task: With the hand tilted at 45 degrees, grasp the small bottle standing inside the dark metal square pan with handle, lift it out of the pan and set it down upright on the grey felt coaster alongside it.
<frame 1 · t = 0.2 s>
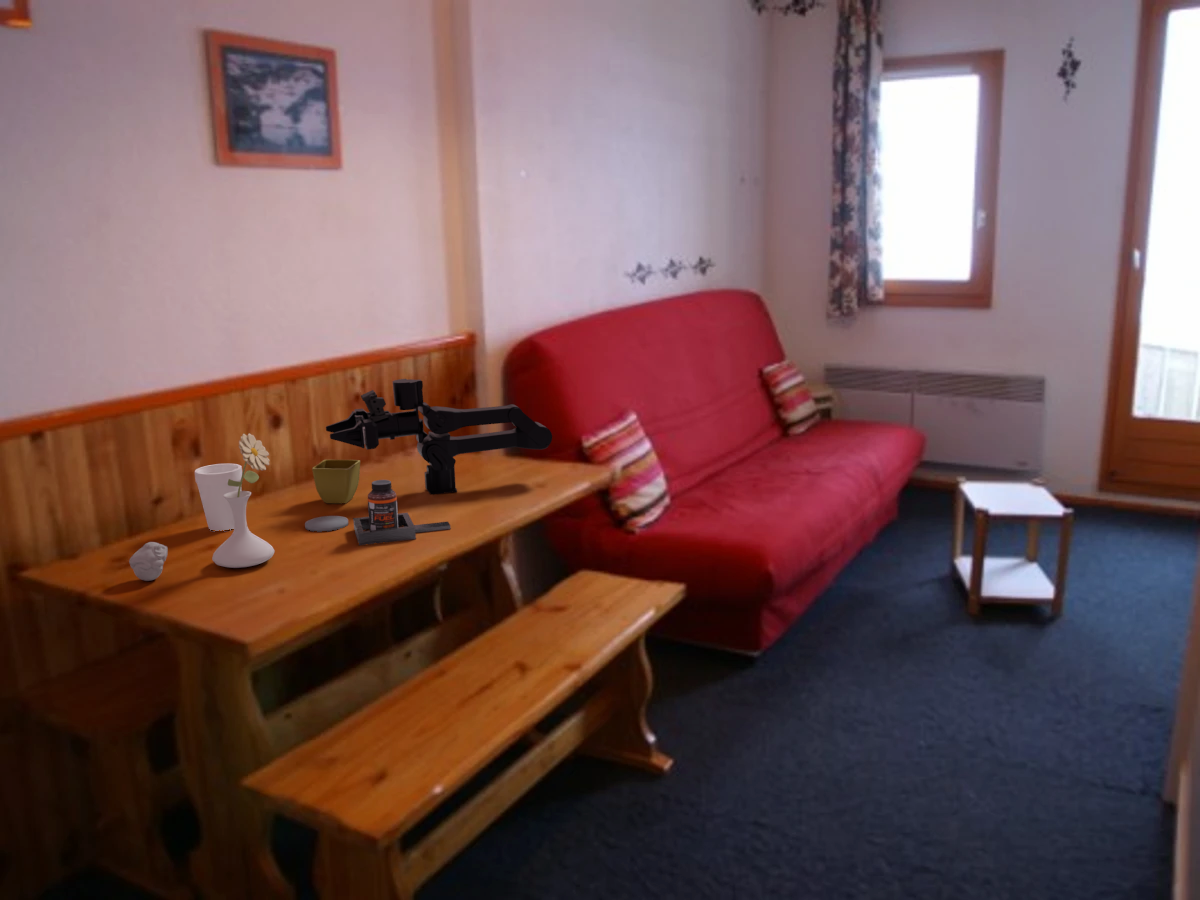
hand: (328, 432, 236), 17 cm above the table, tool horizontal, fingers open, 9 cm apart
flower in vase: (248, 562, 200), on the table
coaster: (326, 525, 223), on the table
square pan with handle: (384, 534, 216), on the table
lumpy white ball: (151, 580, 192), on the table
supplement bottle: (384, 535, 216), resting in square pan with handle
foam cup: (224, 528, 223), on the table
flower pot: (339, 502, 241), on the table
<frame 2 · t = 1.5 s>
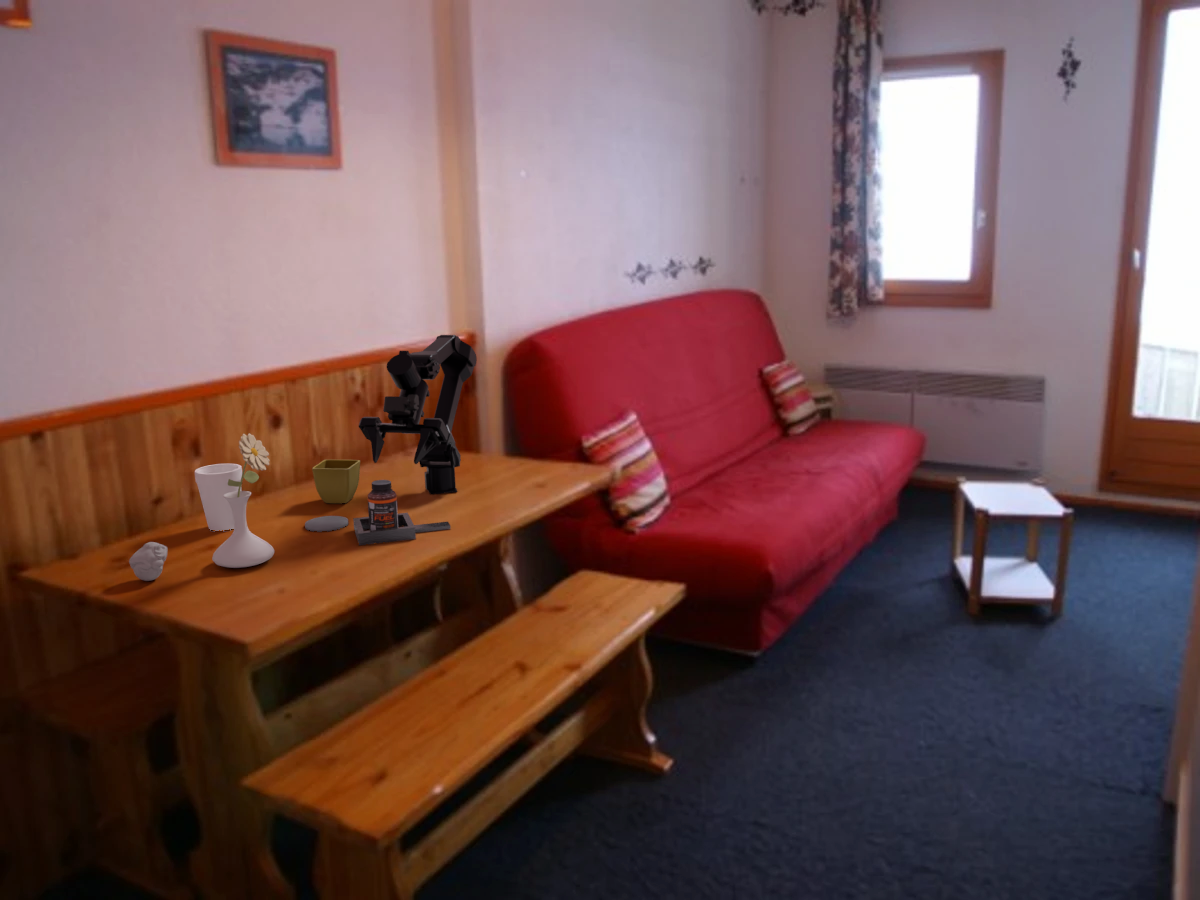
hand: (394, 462, 220), 13 cm above the table, tool tilted 45°, fingers open, 9 cm apart
nothing on the table moved.
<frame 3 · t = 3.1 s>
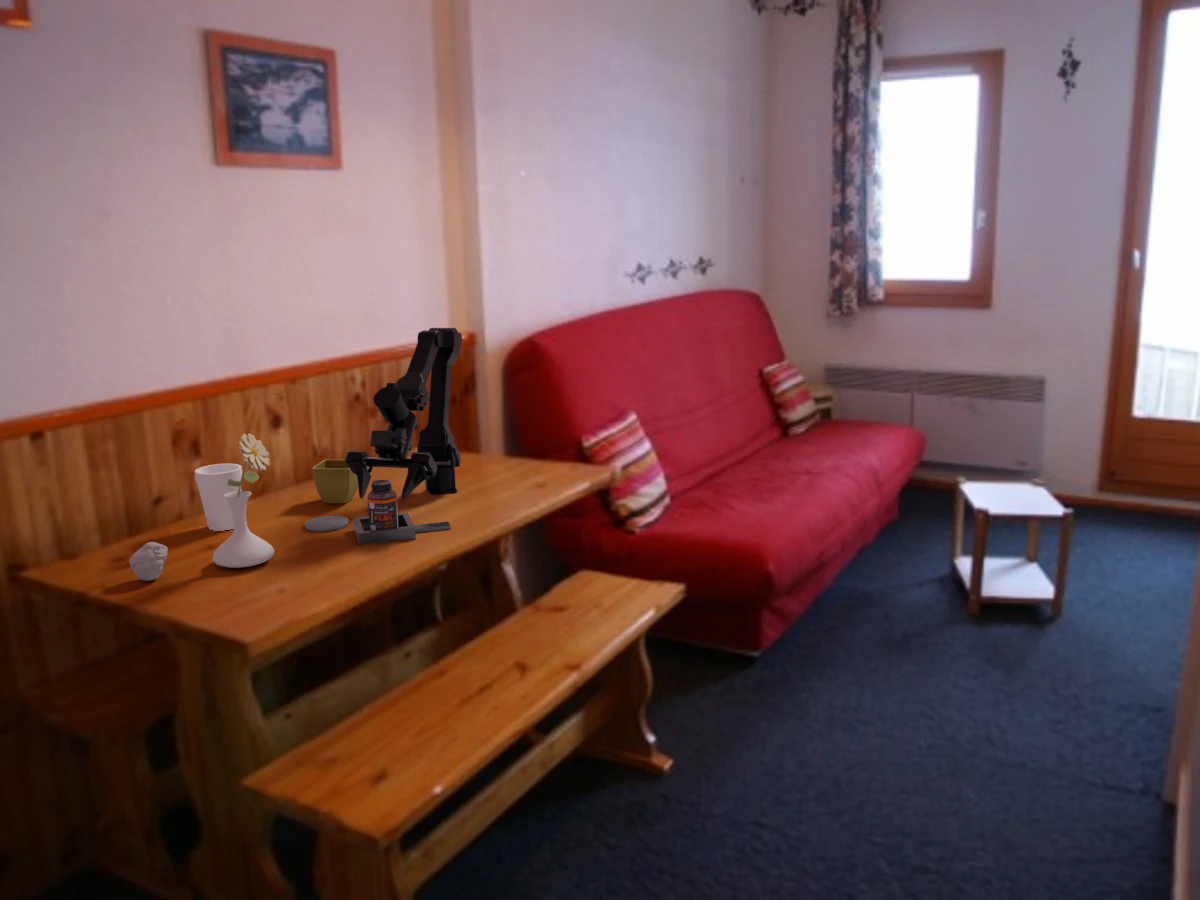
hand: (381, 498, 214), 8 cm above the table, tool tilted 45°, fingers open, 9 cm apart
nothing on the table moved.
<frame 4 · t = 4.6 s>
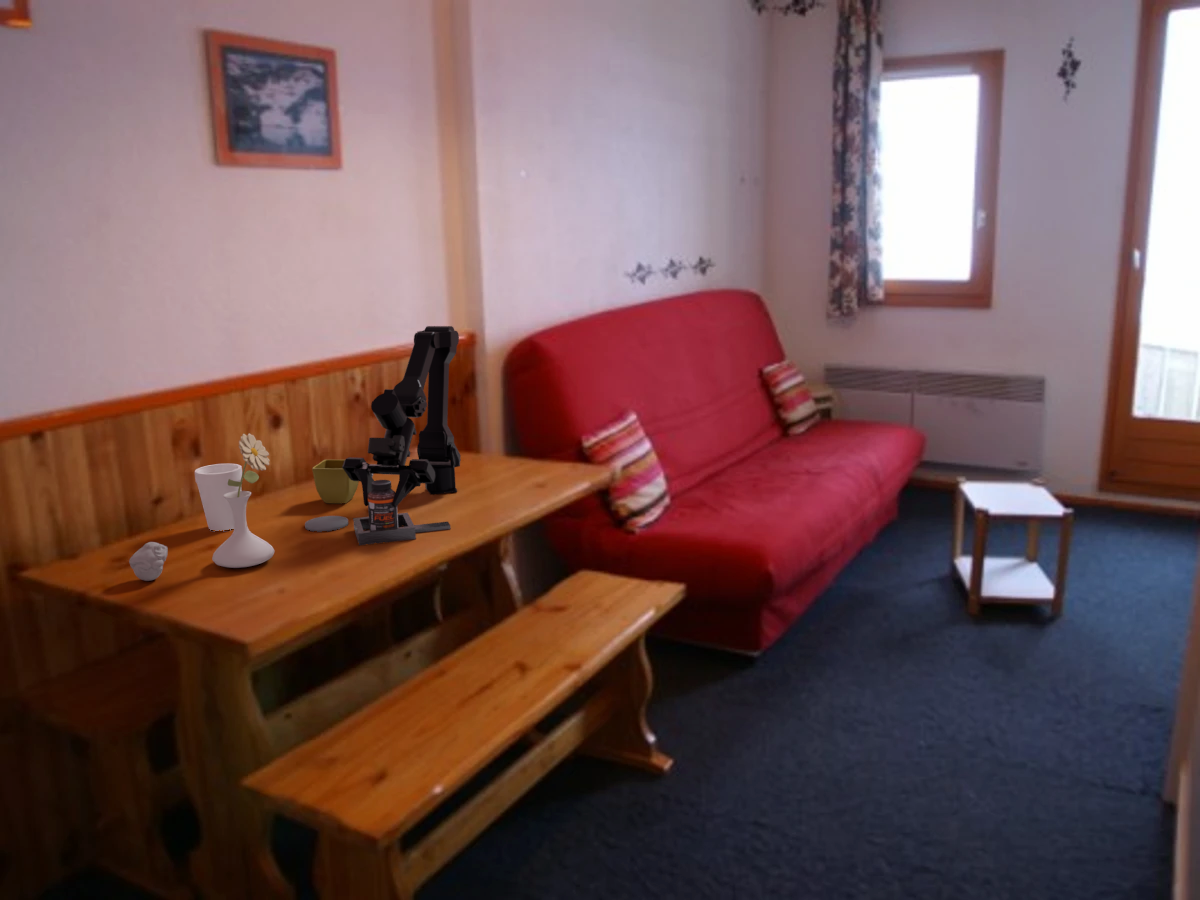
hand: (379, 505, 213), 7 cm above the table, tool tilted 45°, fingers closed on supplement bottle, 6 cm apart
supplement bottle: (384, 535, 216), resting in square pan with handle, touching gripper
everything else where it was.
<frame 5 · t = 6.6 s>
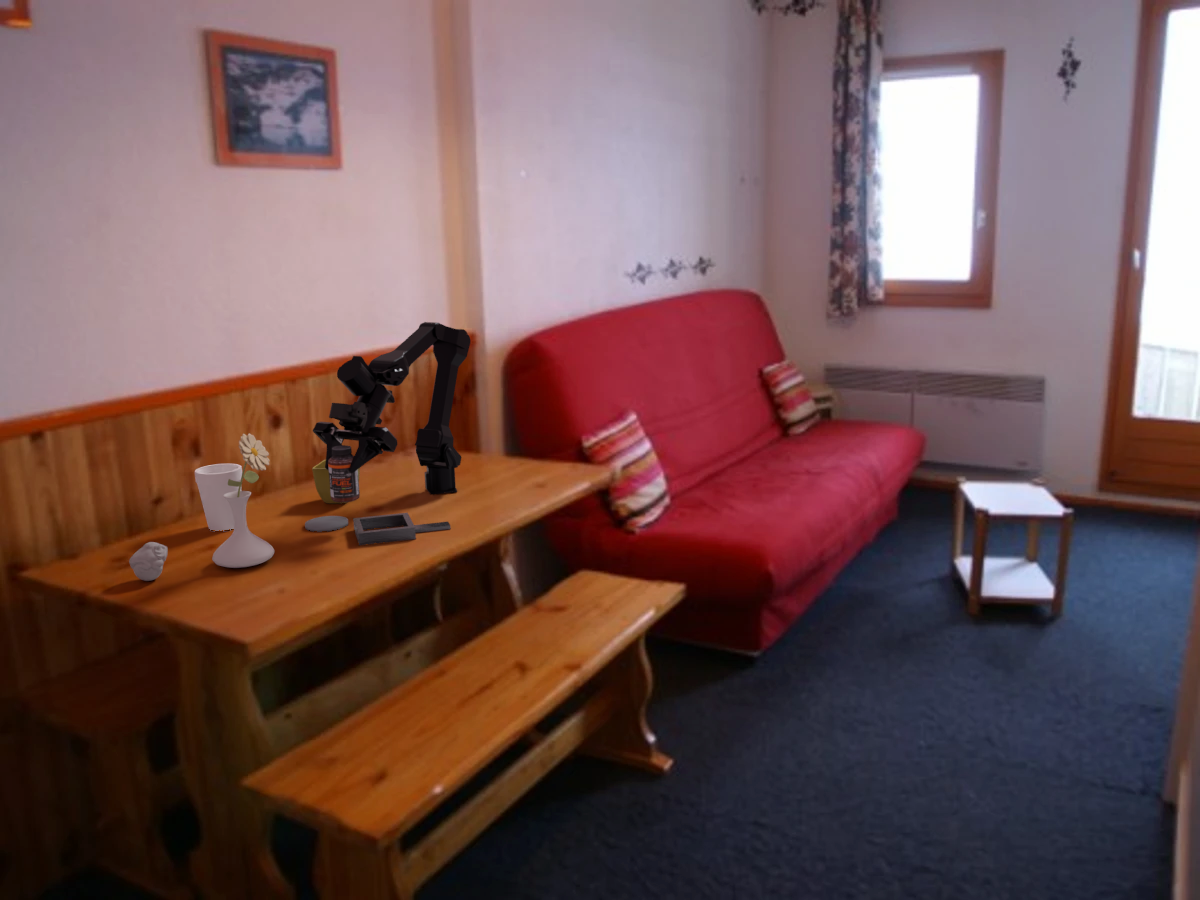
hand: (338, 470, 215), 13 cm above the table, tool tilted 45°, fingers closed on supplement bottle, 6 cm apart
supplement bottle: (345, 500, 218), point 6 cm above the table, touching gripper
everything else where it was.
when the fingers open (8 cm above the table, at t = 8.8 s): supplement bottle stays where it is, resting on coaster.
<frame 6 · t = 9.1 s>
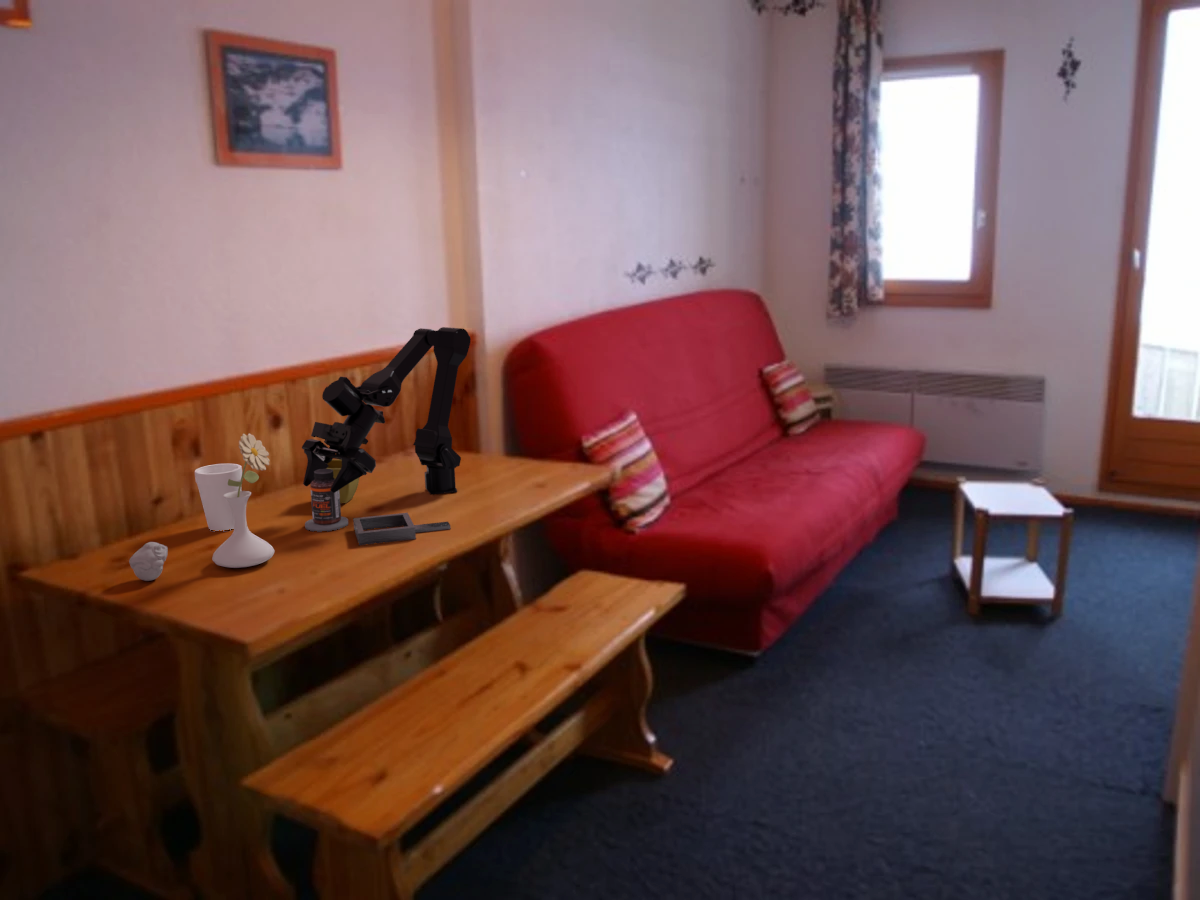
hand: (318, 488, 220), 9 cm above the table, tool tilted 45°, fingers open, 9 cm apart
supplement bottle: (327, 522, 223), point 1 cm above the table, touching coaster
everything else where it was.
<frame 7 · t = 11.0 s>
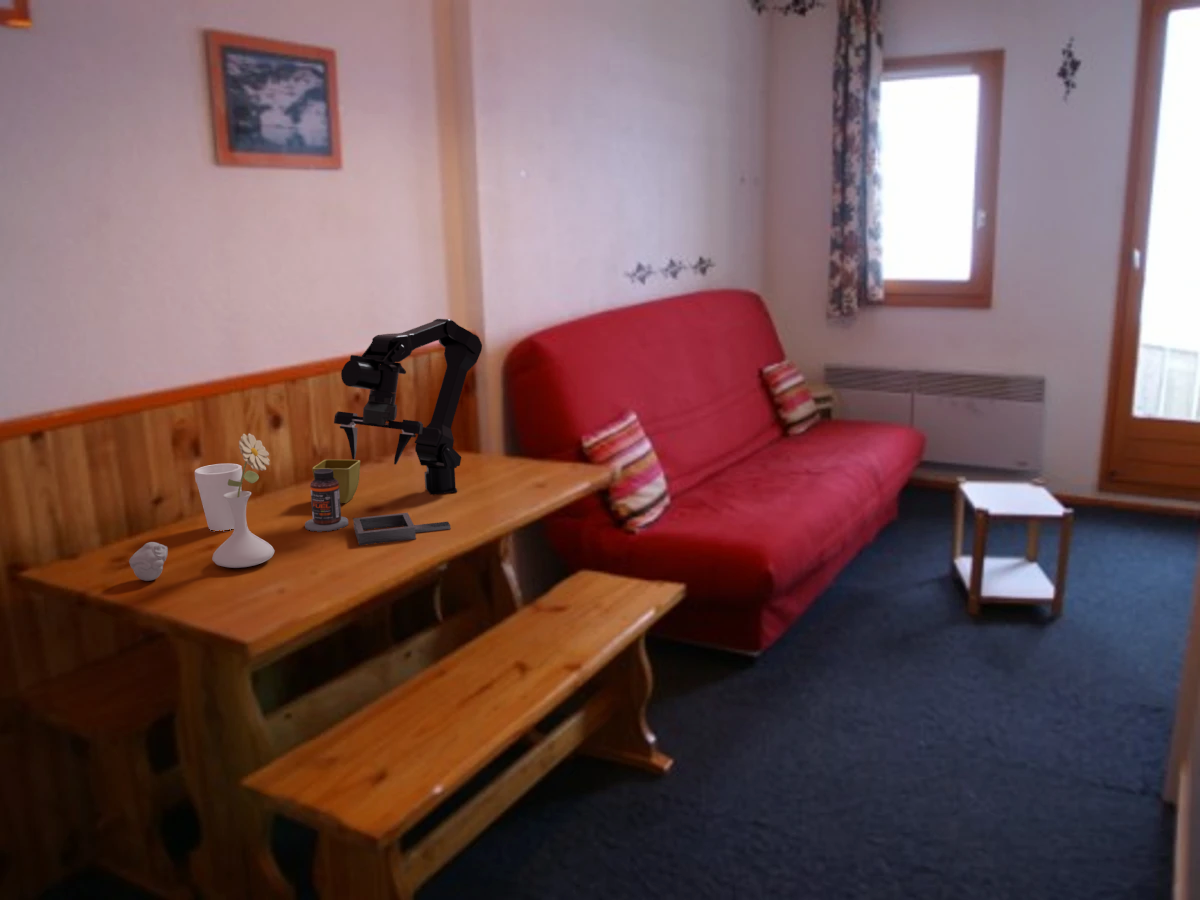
hand: (374, 461, 229), 12 cm above the table, tool tilted 15°, fingers open, 9 cm apart
nothing on the table moved.
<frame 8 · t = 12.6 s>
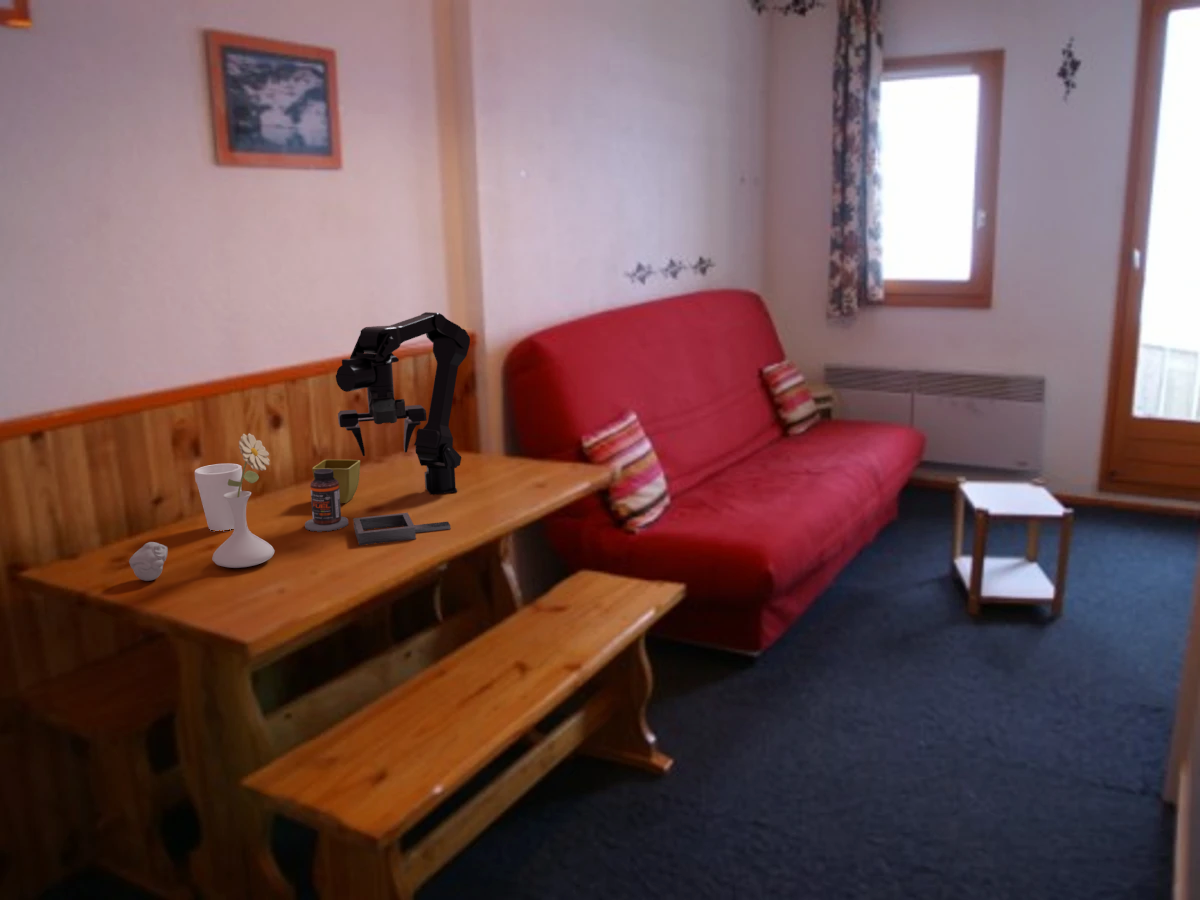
hand: (384, 453, 230), 13 cm above the table, tool pointing down, fingers open, 9 cm apart
nothing on the table moved.
at the end: supplement bottle 0.2 cm from the coaster (horizontally); supplement bottle tilted 0°; the gripper is holding nothing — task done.
